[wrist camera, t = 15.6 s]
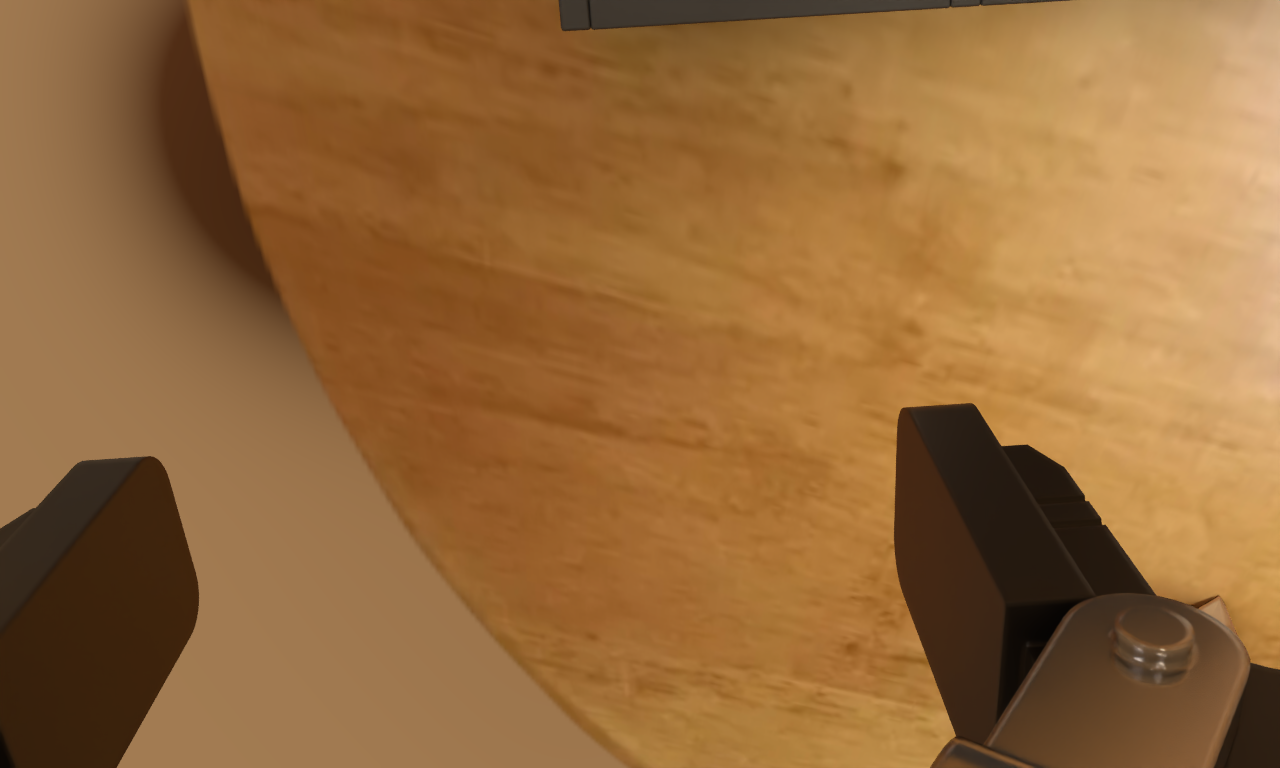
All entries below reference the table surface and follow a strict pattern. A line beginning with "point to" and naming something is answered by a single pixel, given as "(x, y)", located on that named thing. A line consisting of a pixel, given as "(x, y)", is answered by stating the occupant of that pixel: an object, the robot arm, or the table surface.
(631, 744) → the table surface
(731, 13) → the grid
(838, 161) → the table surface
